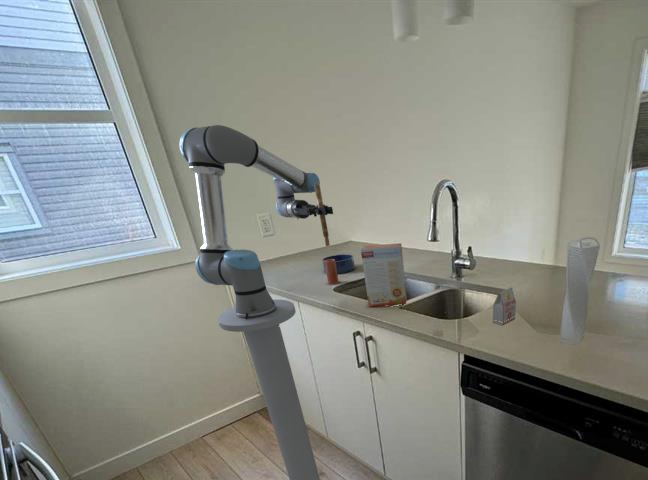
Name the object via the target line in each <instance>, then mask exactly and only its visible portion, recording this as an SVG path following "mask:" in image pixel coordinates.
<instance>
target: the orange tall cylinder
mask: <svg viewBox="0 0 648 480" xmlns="http://www.w3.org/2000/svg"><path fill="white" fill-rule="evenodd" d="M324 262H325V268H326V272H325V274H326V279H327V282H328V285H337V284H339V283H340V281H339V274H337V269H336V263H335V259H328V260H325V261H324Z"/></svg>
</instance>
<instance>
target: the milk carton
mask: <svg viewBox="0 0 648 480" xmlns="http://www.w3.org/2000/svg"><path fill="white" fill-rule="evenodd" d="M494 300H495V301H494V302H493V305H492V324H494V325H497V326H502V327H503V326H505V325H507V324H509V323H510V322H513V321H514V320H516V310H517V309H516V308H517V300H516V297H515V293H514V290H513V287H508V288H506V289H504V290H502V291H499V292H498V293H497V296H496V298H495V299H494ZM514 316H515V317H514ZM512 317H513V318H512ZM510 318H511V319H510ZM508 319H509V320H508ZM494 320H497V321H494ZM506 320H507V321H506ZM498 321H501V322H503V323H501V322H498ZM504 321H505V322H504Z"/></svg>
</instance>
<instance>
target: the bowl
mask: <svg viewBox="0 0 648 480" xmlns="http://www.w3.org/2000/svg"><path fill="white" fill-rule="evenodd" d="M328 259H335V263H336V269H337V274H338V275H339V274H345V273H349V272H352V271H353V270H355V268H356V265H355V258H354V255H353V254H347V253H345V254H344V253H342V254H334V255H328V256H326V257H323V258H322V259H321V262H322V267H323V268H322V269H323V271H324V273H326V268H325V262H324V261H325V260H328Z"/></svg>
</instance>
